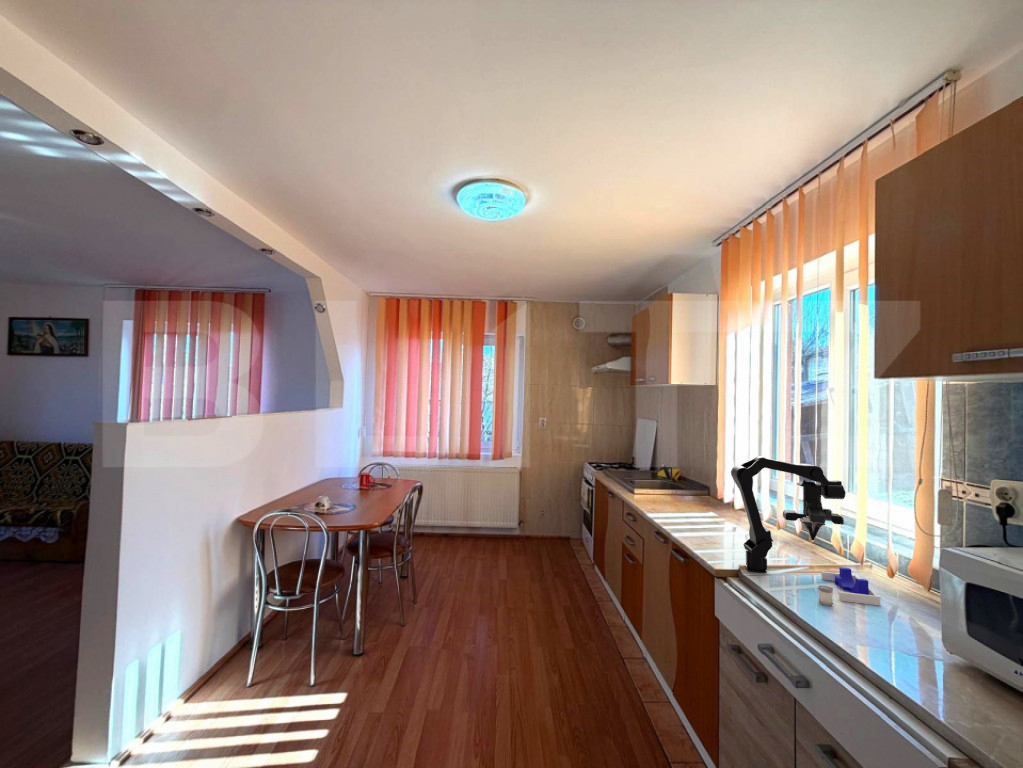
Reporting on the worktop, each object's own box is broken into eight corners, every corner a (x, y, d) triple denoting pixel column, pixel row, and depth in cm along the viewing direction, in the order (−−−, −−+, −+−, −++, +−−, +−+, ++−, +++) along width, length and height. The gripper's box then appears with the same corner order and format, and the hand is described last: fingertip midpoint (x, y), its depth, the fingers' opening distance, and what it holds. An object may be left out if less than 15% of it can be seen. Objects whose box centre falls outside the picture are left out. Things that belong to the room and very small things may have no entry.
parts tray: (839, 600, 151) (839, 592, 152) (821, 578, 170) (821, 571, 170) (880, 605, 148) (880, 597, 148) (857, 582, 166) (857, 575, 167)
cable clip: (834, 584, 165) (834, 567, 166) (849, 585, 165) (848, 567, 165) (853, 598, 154) (853, 579, 154) (868, 599, 153) (868, 580, 153)
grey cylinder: (820, 605, 148) (820, 589, 148) (817, 600, 151) (816, 584, 152) (834, 607, 147) (834, 590, 147) (830, 602, 150) (830, 586, 150)
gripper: (789, 500, 172) (789, 543, 172) (848, 504, 166) (849, 549, 166) (782, 494, 183) (782, 535, 182) (838, 498, 177) (838, 540, 176)
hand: (812, 540), depth 177 cm, fingers closed
